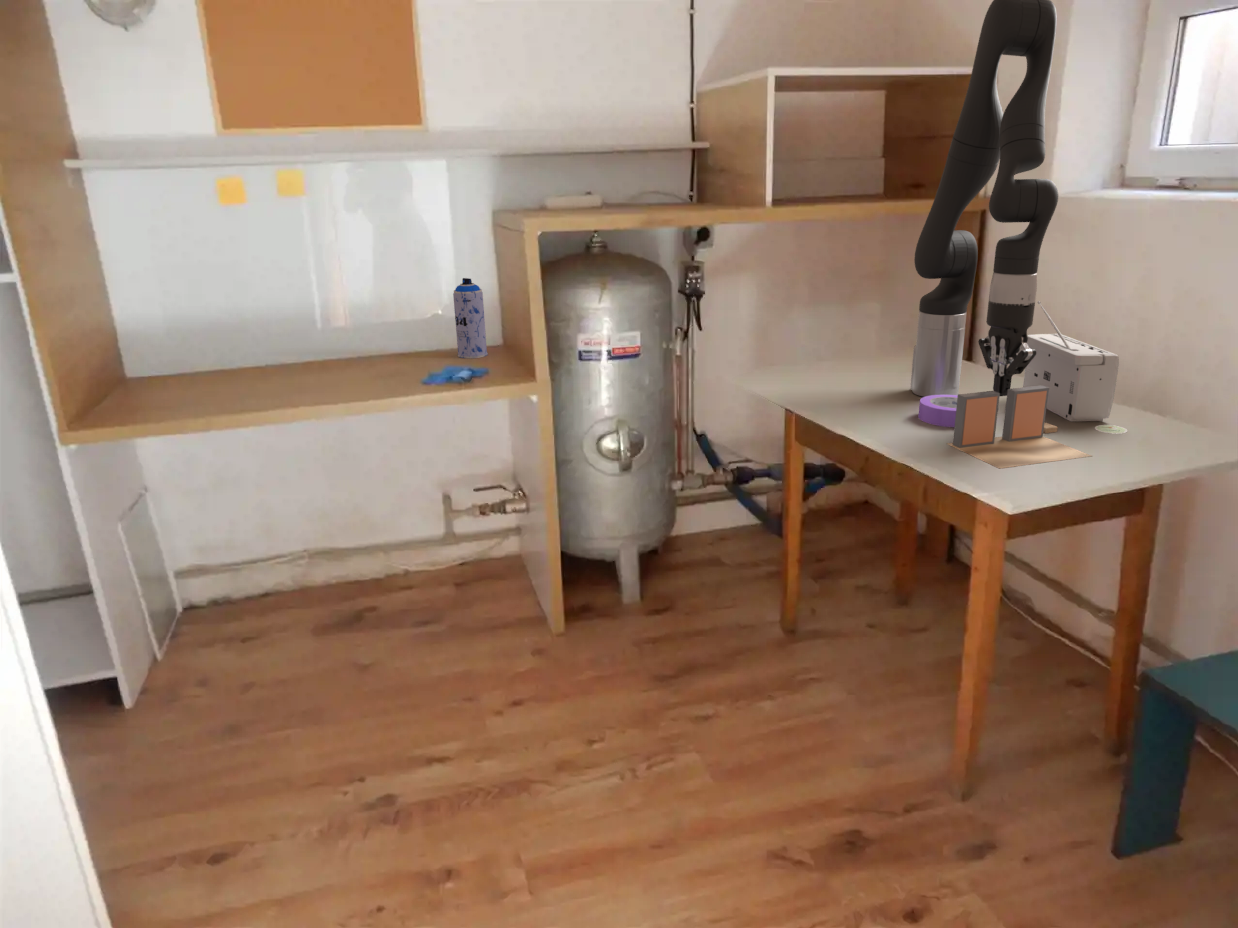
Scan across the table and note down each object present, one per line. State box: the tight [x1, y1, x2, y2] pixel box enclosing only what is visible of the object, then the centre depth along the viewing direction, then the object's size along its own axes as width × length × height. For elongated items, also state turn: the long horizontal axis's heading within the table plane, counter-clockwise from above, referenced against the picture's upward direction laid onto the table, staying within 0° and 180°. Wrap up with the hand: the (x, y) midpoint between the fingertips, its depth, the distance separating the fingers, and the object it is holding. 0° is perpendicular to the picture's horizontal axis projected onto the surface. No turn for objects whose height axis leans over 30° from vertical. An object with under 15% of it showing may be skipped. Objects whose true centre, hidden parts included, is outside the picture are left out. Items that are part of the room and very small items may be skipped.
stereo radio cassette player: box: [1022, 300, 1120, 422], centre depth 175 cm, size 21×8×20 cm, turn 3°
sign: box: [1094, 424, 1128, 435], centre depth 160 cm, size 5×1×15 cm
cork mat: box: [946, 436, 1092, 470], centre depth 155 cm, size 14×18×1 cm
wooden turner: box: [1043, 422, 1059, 434], centre depth 165 cm, size 14×4×2 cm, turn 15°
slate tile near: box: [952, 390, 1001, 448], centre depth 156 cm, size 2×7×9 cm, turn 106°
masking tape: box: [917, 395, 958, 428], centre depth 173 cm, size 12×12×4 cm
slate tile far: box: [1001, 385, 1049, 442], centre depth 159 cm, size 2×7×9 cm, turn 106°
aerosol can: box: [452, 277, 489, 359], centre depth 236 cm, size 8×8×20 cm
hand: (1000, 395), depth 164 cm, fingers closed
